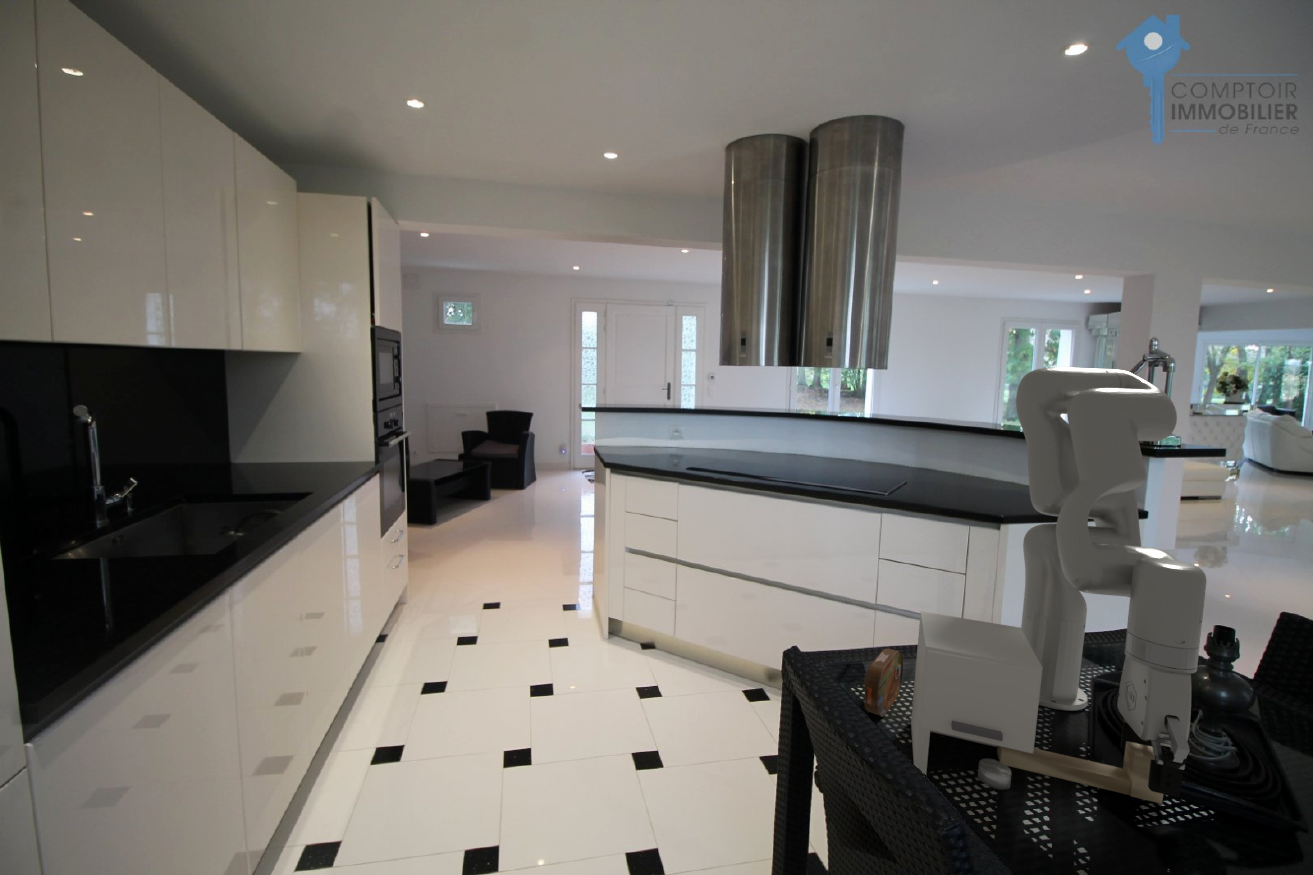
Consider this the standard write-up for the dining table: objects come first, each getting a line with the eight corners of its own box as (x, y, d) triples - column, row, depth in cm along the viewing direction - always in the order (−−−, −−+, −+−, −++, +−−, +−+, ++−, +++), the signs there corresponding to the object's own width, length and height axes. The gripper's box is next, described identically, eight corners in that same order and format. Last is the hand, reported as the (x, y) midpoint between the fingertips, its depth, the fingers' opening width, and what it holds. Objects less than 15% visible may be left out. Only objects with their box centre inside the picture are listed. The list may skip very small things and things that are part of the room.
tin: (878, 725, 96) (882, 676, 95) (858, 718, 98) (862, 669, 97) (903, 689, 108) (906, 645, 107) (885, 683, 110) (889, 640, 109)
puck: (976, 768, 86) (977, 755, 86) (1007, 776, 85) (1008, 763, 85) (979, 785, 82) (981, 772, 82) (1012, 793, 81) (1014, 780, 81)
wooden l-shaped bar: (996, 751, 90) (1000, 714, 90) (1151, 787, 83) (1156, 747, 83) (1000, 765, 87) (1004, 726, 86) (1162, 803, 80) (1167, 762, 79)
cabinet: (910, 722, 97) (920, 611, 95) (1008, 744, 92) (1020, 627, 90) (914, 780, 83) (926, 650, 81) (1030, 810, 78) (1045, 673, 76)
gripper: (1105, 624, 89) (1094, 732, 91) (1153, 671, 73) (1139, 802, 75) (1166, 633, 87) (1155, 745, 88) (1230, 684, 71) (1215, 820, 72)
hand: (1148, 771), depth 81 cm, fingers open, 9 cm apart
